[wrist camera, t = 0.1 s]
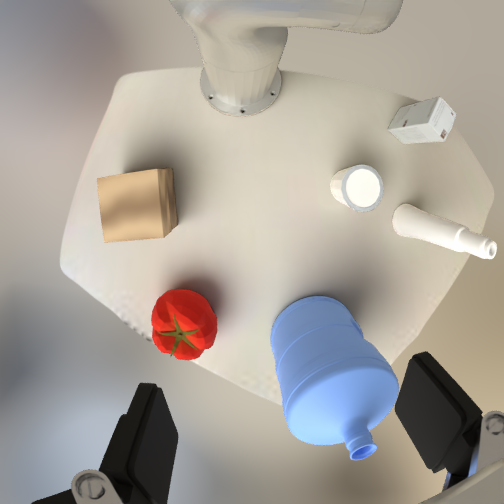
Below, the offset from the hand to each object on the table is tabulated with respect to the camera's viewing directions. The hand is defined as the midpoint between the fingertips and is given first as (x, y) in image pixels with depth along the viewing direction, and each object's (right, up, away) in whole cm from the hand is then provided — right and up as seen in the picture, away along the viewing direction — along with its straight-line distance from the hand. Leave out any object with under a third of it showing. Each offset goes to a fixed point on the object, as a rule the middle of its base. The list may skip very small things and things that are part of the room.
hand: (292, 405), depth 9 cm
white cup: (+14, +16, +35) cm, 41 cm away
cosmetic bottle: (+26, +11, +36) cm, 46 cm away
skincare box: (+25, +28, +32) cm, 49 cm away
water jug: (+10, -9, +41) cm, 43 cm away
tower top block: (-18, +13, +30) cm, 37 cm away
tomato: (-13, -5, +39) cm, 41 cm away
